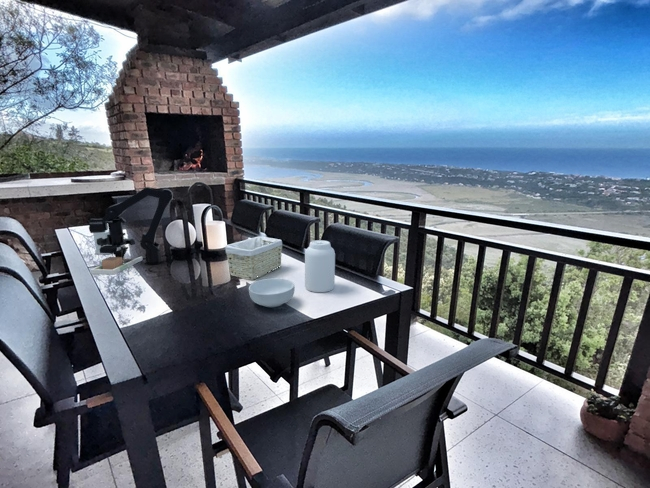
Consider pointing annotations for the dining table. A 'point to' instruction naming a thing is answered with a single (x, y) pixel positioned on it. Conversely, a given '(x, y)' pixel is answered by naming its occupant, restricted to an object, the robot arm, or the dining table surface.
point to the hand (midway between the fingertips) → (120, 262)
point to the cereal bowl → (271, 291)
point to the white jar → (319, 266)
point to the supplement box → (97, 236)
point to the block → (112, 263)
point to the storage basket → (254, 257)
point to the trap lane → (104, 271)
